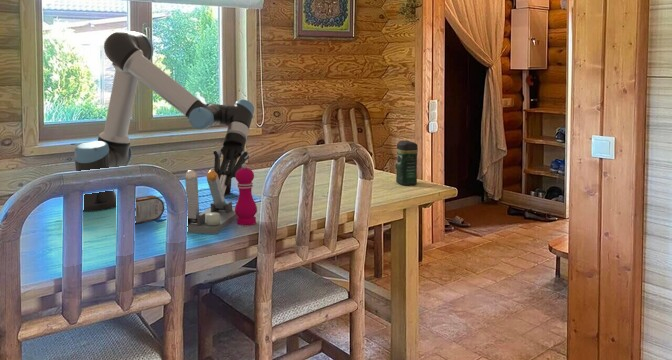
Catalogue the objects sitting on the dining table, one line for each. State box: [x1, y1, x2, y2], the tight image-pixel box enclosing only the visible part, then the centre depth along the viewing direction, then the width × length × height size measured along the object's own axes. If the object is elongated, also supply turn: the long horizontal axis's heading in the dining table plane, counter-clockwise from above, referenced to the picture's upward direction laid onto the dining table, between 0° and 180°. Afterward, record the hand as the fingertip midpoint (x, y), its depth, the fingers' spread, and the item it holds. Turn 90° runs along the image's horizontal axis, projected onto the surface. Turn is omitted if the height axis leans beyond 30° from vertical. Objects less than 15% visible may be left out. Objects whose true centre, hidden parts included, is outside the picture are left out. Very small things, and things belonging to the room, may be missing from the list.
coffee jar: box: [395, 140, 419, 186], centre depth 259 cm, size 10×8×19 cm
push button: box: [206, 213, 220, 225], centre depth 191 cm, size 4×4×3 cm
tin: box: [135, 195, 165, 224], centre depth 202 cm, size 15×3×8 cm, turn 133°
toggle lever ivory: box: [184, 169, 200, 223], centre depth 191 cm, size 4×4×17 cm
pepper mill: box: [235, 162, 258, 226], centre depth 198 cm, size 7×7×20 cm
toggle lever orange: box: [206, 170, 227, 211], centre depth 203 cm, size 4×4×17 cm
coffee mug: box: [209, 166, 233, 196], centre depth 244 cm, size 12×9×10 cm
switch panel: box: [187, 201, 238, 235], centre depth 201 cm, size 12×26×5 cm, turn 170°
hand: (220, 193), depth 206 cm, fingers closed
